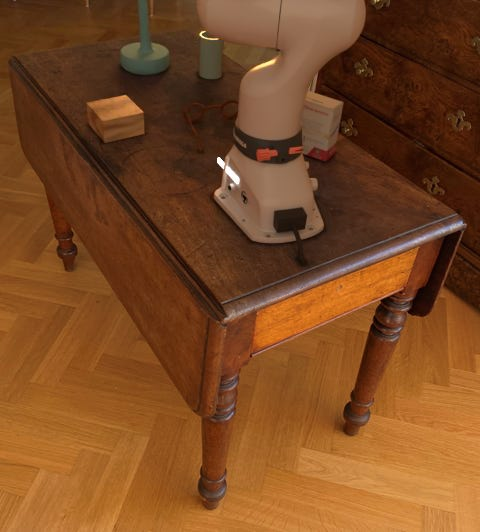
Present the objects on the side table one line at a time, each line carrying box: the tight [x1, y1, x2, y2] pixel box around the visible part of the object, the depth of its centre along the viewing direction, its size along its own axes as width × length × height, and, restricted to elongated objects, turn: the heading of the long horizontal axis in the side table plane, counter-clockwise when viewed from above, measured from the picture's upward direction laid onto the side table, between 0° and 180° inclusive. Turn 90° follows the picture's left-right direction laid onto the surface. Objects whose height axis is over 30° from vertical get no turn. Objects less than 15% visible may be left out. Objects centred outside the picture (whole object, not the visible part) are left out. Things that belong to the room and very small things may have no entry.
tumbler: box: [198, 30, 225, 80], centre depth 150 cm, size 6×6×10 cm
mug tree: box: [119, 0, 171, 76], centre depth 147 cm, size 12×12×25 cm
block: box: [85, 94, 145, 144], centre depth 128 cm, size 9×9×5 cm
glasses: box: [182, 99, 239, 153], centre depth 129 cm, size 13×13×5 cm
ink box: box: [301, 90, 344, 162], centre depth 124 cm, size 9×5×12 cm, turn 57°
